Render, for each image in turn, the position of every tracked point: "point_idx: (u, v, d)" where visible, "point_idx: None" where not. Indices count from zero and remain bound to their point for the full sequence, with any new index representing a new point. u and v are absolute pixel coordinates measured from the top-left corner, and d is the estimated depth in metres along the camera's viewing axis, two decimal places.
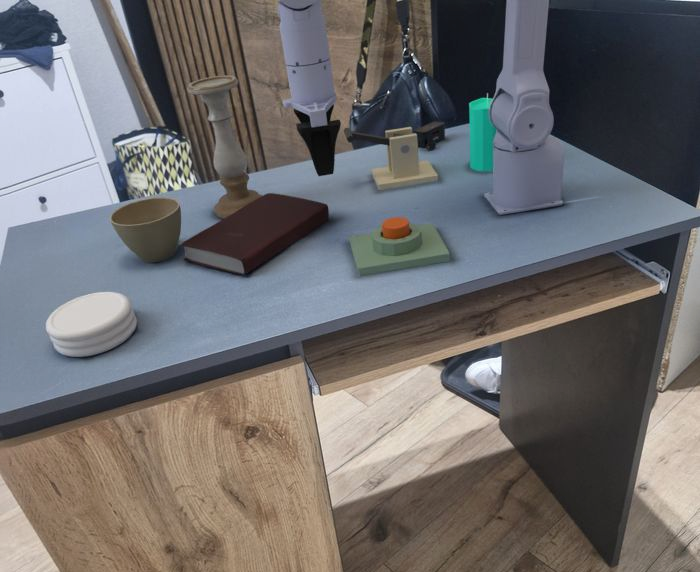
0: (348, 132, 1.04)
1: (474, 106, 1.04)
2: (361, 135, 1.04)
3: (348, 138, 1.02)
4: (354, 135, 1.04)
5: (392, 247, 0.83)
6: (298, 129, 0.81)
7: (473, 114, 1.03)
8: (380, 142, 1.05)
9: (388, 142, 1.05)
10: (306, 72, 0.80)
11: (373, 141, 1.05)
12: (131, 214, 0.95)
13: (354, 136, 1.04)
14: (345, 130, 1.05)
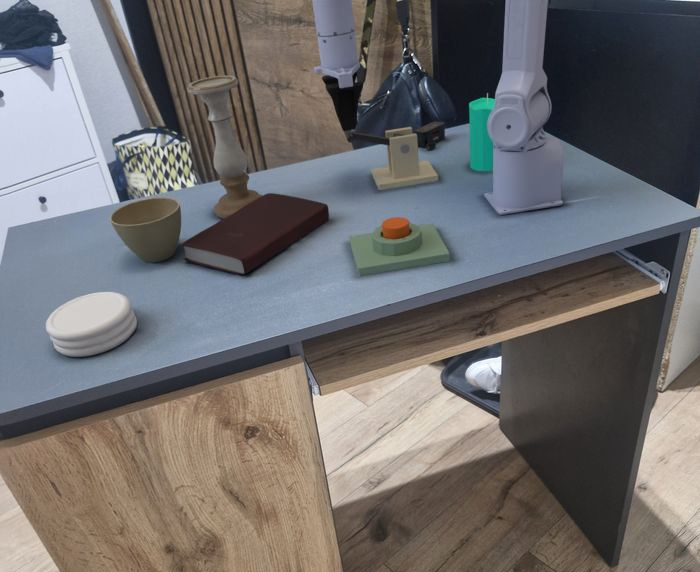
0: (348, 132, 1.04)
1: (474, 106, 1.04)
2: (361, 135, 1.04)
3: (348, 138, 1.02)
4: (354, 135, 1.04)
5: (392, 247, 0.83)
6: (327, 89, 0.95)
7: (473, 114, 1.03)
8: (380, 142, 1.05)
9: (388, 142, 1.05)
10: (335, 41, 0.94)
11: (373, 141, 1.05)
12: (131, 214, 0.95)
13: (354, 136, 1.04)
14: None
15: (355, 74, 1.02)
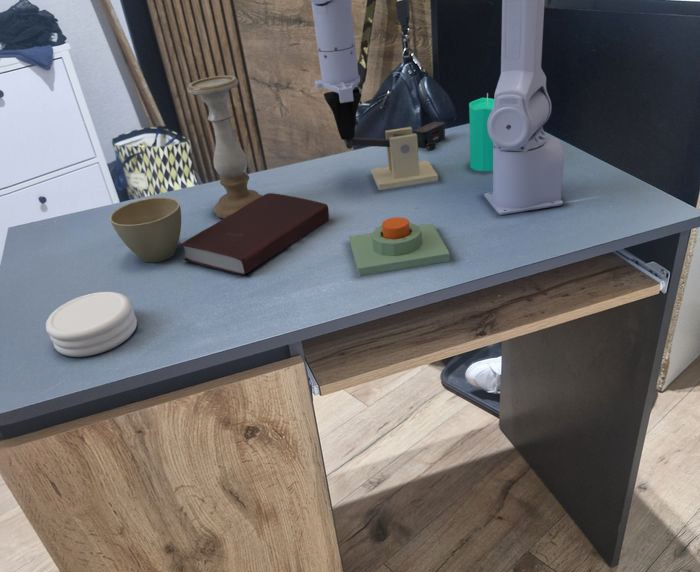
0: None
1: (474, 106, 1.04)
2: (360, 140, 1.04)
3: (347, 144, 1.03)
4: (353, 140, 1.04)
5: (392, 247, 0.83)
6: (326, 99, 0.99)
7: (473, 114, 1.03)
8: (380, 144, 1.05)
9: (388, 144, 1.05)
10: (335, 56, 0.95)
11: (373, 144, 1.05)
12: (131, 214, 0.95)
13: (353, 141, 1.04)
14: None
15: (357, 91, 1.01)
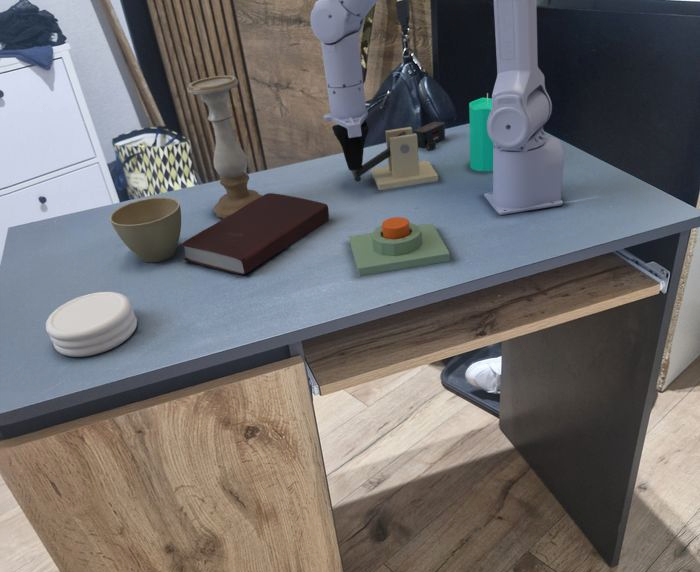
0: (353, 173, 1.07)
1: (474, 106, 1.04)
2: (365, 166, 1.07)
3: (355, 179, 1.06)
4: (360, 171, 1.07)
5: (392, 247, 0.83)
6: (335, 133, 1.02)
7: (473, 114, 1.03)
8: (383, 158, 1.06)
9: (390, 152, 1.06)
10: (344, 93, 0.98)
11: (378, 161, 1.07)
12: (131, 214, 0.95)
13: (360, 171, 1.07)
14: None
15: (365, 124, 1.04)
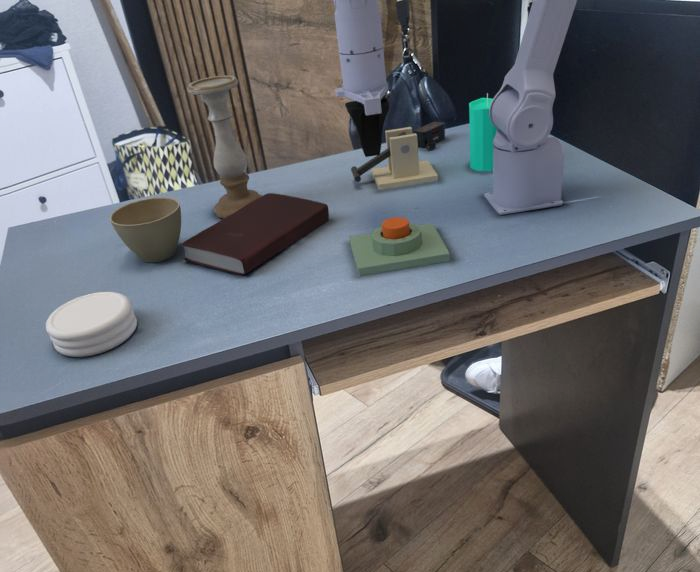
0: (353, 173, 1.07)
1: (474, 106, 1.04)
2: (365, 166, 1.07)
3: (355, 179, 1.06)
4: (360, 171, 1.07)
5: (392, 247, 0.83)
6: (349, 110, 0.84)
7: (473, 114, 1.03)
8: (383, 158, 1.06)
9: (390, 152, 1.06)
10: (360, 60, 0.80)
11: (378, 161, 1.07)
12: (131, 214, 0.95)
13: (360, 171, 1.07)
14: None
15: (385, 101, 0.86)
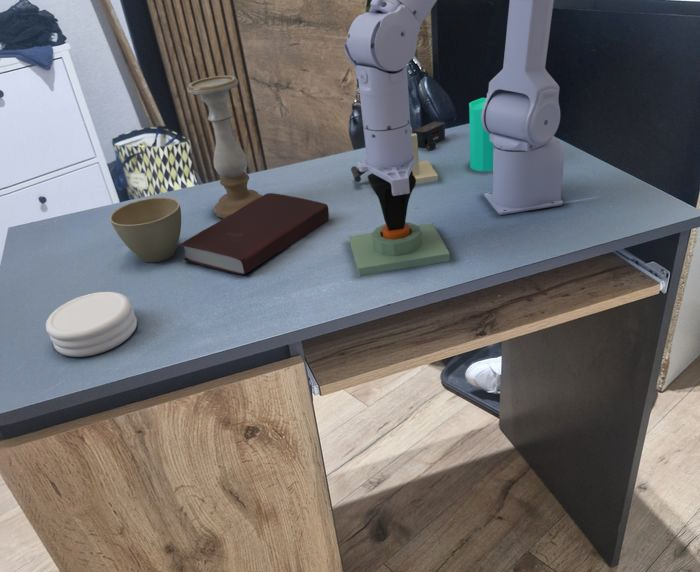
0: (353, 173, 1.07)
1: (474, 106, 1.04)
2: None
3: (355, 179, 1.06)
4: None
5: (392, 247, 0.83)
6: (373, 186, 0.79)
7: (473, 114, 1.03)
8: None
9: None
10: (387, 137, 0.75)
11: None
12: (131, 214, 0.95)
13: None
14: None
15: (410, 174, 0.81)
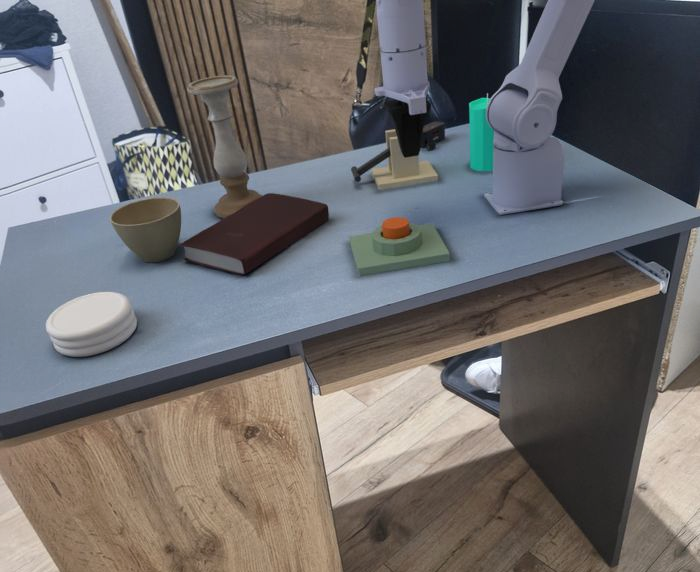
0: (353, 173, 1.07)
1: (474, 106, 1.04)
2: (365, 166, 1.07)
3: (355, 179, 1.06)
4: (360, 171, 1.07)
5: (392, 247, 0.83)
6: (390, 110, 0.82)
7: (473, 114, 1.03)
8: (383, 158, 1.06)
9: (390, 152, 1.06)
10: (404, 59, 0.78)
11: (378, 161, 1.07)
12: (131, 214, 0.95)
13: (360, 171, 1.07)
14: None
15: None
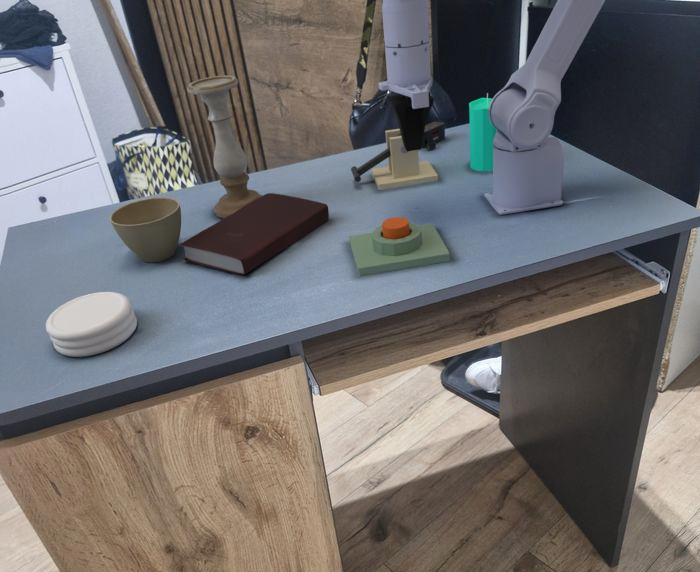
0: (353, 173, 1.07)
1: (474, 106, 1.04)
2: (365, 166, 1.07)
3: (355, 179, 1.06)
4: (360, 171, 1.07)
5: (392, 247, 0.83)
6: (393, 104, 0.84)
7: (473, 114, 1.03)
8: (383, 158, 1.06)
9: (390, 152, 1.06)
10: (407, 54, 0.80)
11: (378, 161, 1.07)
12: (131, 214, 0.95)
13: (360, 171, 1.07)
14: None
15: None
